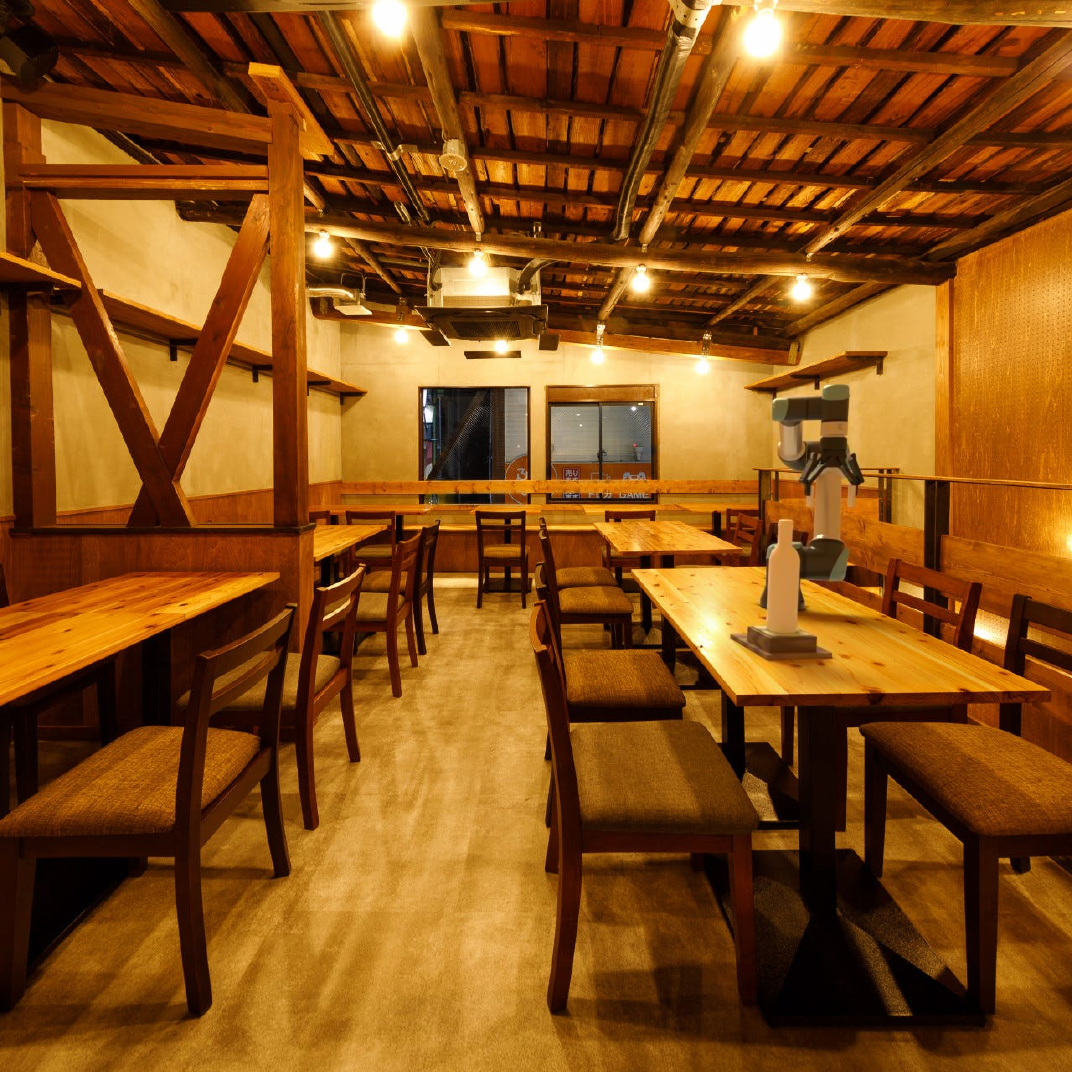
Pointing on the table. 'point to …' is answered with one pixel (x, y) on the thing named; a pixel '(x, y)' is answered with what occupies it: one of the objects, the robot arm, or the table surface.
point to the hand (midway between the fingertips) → (830, 506)
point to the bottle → (783, 583)
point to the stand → (780, 644)
